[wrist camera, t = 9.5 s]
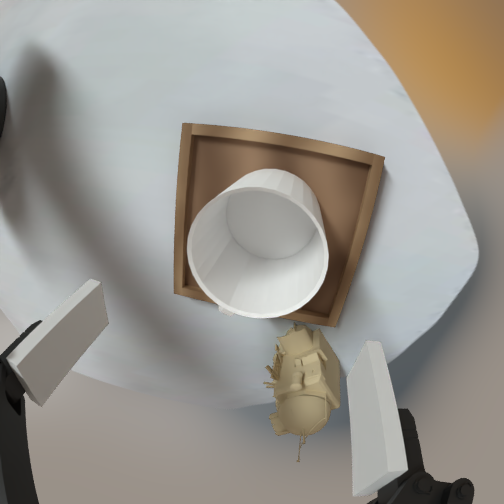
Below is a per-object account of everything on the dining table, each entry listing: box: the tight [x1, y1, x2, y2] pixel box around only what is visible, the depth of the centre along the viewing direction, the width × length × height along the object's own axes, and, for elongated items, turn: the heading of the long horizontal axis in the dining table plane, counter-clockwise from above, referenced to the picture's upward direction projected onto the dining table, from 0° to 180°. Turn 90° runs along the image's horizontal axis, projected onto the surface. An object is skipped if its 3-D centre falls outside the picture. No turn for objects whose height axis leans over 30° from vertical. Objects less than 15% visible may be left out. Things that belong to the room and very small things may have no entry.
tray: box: [174, 123, 385, 327], centre depth 27 cm, size 18×18×2 cm
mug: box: [187, 169, 329, 318], centre depth 23 cm, size 12×9×9 cm
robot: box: [264, 322, 340, 462], centre depth 27 cm, size 10×8×15 cm
